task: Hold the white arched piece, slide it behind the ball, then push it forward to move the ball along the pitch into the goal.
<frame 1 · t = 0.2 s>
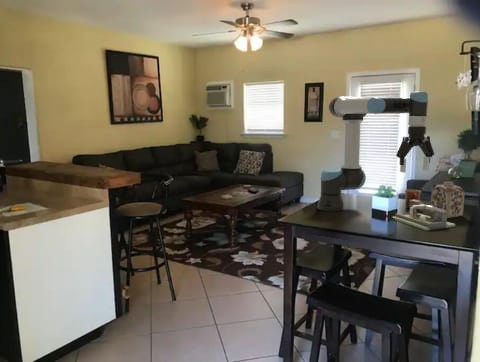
hand: (414, 171, 182), 28 cm above the table, tool pointing down, fingers open, 13 cm apart
decorative jar: (446, 215, 210), on the table
white arched piece: (421, 211, 197), point 5 cm above the table, slide at 0.0 cm
pitch: (422, 222, 195), on the table
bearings: (438, 224, 192), resting on pitch
mug: (412, 208, 225), on the table
ball: (422, 218, 192), point 3 cm above the table, touching pitch
goal: (431, 227, 187), on the table
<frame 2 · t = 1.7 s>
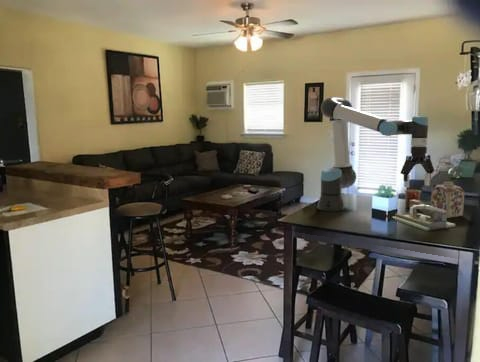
hand: (416, 186, 204), 17 cm above the table, tool pointing down, fingers open, 13 cm apart
nothing on the table moved.
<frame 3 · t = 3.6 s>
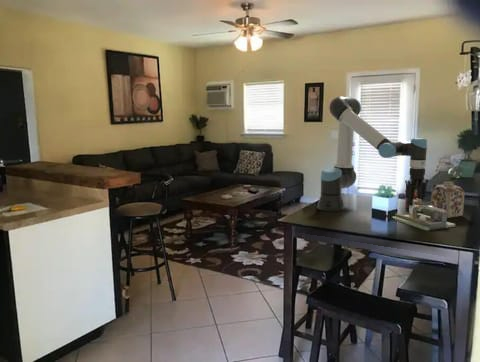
hand: (414, 211, 206), 3 cm above the table, tool pointing down, fingers closed on white arched piece, 4 cm apart
white arched piece: (421, 211, 197), point 5 cm above the table, slide at 0.0 cm, touching gripper
everything else where it was.
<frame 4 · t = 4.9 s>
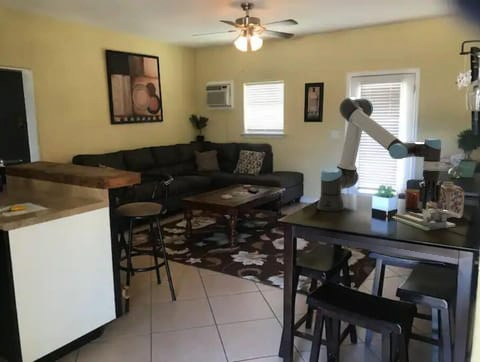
hand: (428, 214, 197), 3 cm above the table, tool pointing down, fingers closed on white arched piece, 4 cm apart
white arched piece: (436, 215, 189), point 5 cm above the table, slide at 9.0 cm, touching gripper
ball: (432, 224, 186), point 2 cm above the table, tilted 143°
everything else where it was.
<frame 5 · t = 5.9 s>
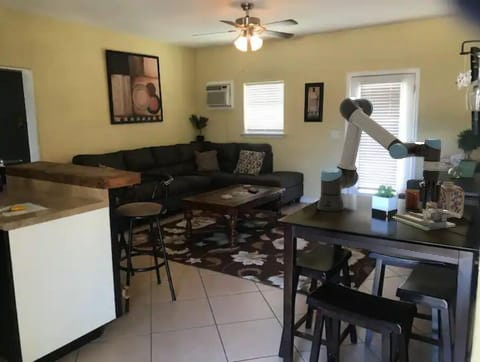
hand: (428, 214, 197), 3 cm above the table, tool pointing down, fingers closed on white arched piece, 4 cm apart
white arched piece: (436, 215, 189), point 5 cm above the table, slide at 9.1 cm, touching gripper
ball: (430, 223, 187), point 2 cm above the table, tilted 177°
everything else where it was.
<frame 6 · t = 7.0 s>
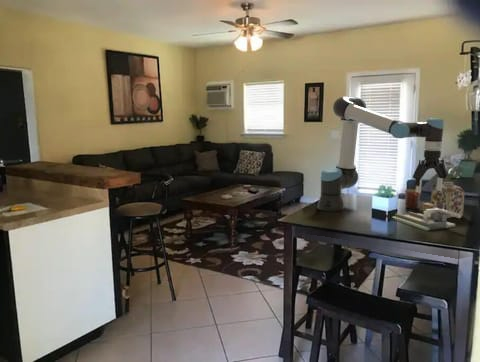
hand: (428, 191, 196), 15 cm above the table, tool pointing down, fingers open, 13 cm apart
white arched piece: (436, 215, 189), point 5 cm above the table, slide at 9.1 cm
everything else where it was.
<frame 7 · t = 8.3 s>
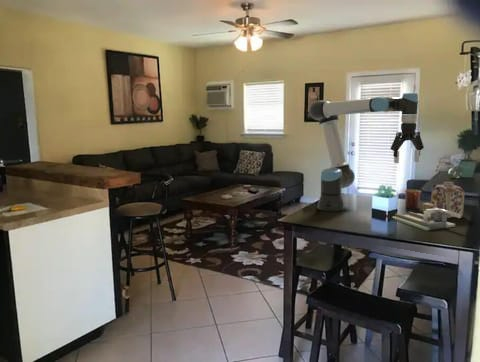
hand: (406, 162, 208), 29 cm above the table, tool pointing down, fingers open, 13 cm apart
ball: (431, 223, 187), point 2 cm above the table, tilted 164°
everything else where it was.
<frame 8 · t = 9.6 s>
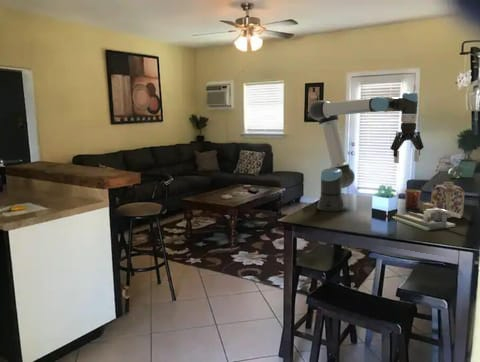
hand: (406, 162, 208), 29 cm above the table, tool pointing down, fingers open, 13 cm apart
ball: (432, 223, 187), point 2 cm above the table, tilted 154°
everything else where it was.
at the end: ball inside the target area (0.5 cm from its centre), point 1.6 cm above the table; white arched piece slide at 9.1 cm; the gripper is holding nothing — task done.
